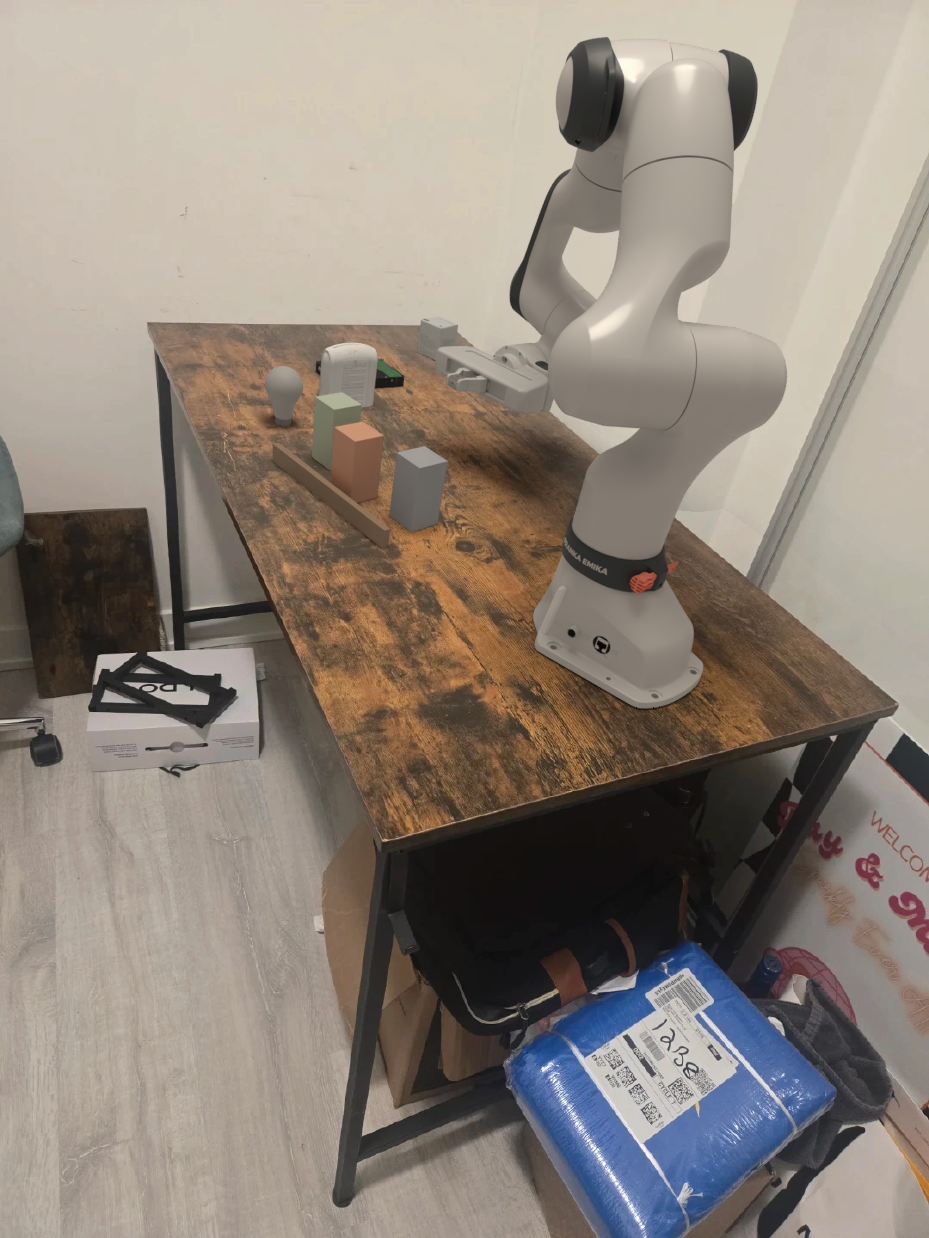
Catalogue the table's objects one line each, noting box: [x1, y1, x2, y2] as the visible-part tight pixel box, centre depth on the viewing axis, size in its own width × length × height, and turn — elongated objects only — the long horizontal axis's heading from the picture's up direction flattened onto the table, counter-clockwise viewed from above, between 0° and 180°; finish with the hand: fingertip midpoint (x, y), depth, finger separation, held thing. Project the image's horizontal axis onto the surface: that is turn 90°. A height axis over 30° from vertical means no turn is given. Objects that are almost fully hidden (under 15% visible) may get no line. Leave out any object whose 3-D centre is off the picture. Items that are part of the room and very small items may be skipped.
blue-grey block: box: [388, 445, 449, 533], centre depth 111 cm, size 5×5×10 cm
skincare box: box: [417, 316, 459, 361], centre depth 174 cm, size 6×6×7 cm
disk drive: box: [315, 357, 406, 390], centre depth 157 cm, size 10×3×15 cm
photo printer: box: [318, 342, 378, 408], centre depth 141 cm, size 10×4×12 cm, turn 123°
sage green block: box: [311, 392, 363, 472], centre depth 122 cm, size 5×5×10 cm
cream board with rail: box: [271, 442, 391, 549], centre depth 119 cm, size 28×19×4 cm
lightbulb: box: [264, 365, 304, 428], centre depth 130 cm, size 6×6×11 cm
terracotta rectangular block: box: [330, 421, 385, 504], centre depth 115 cm, size 5×5×10 cm
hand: (452, 383), depth 118 cm, fingers closed
